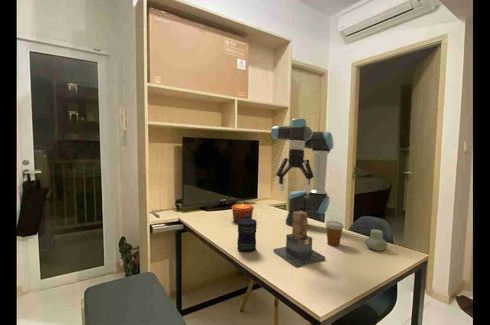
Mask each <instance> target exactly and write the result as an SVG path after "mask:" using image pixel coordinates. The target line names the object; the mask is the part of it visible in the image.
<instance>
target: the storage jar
mask: <svg viewBox="0 0 490 325" xmlns="http://www.w3.org/2000/svg"><path fill="white" fill-rule="evenodd" d="M237 234H238V235H237V243H236V244H237V250H238V252H240V253H245V254H247V253H248V254H249V253H253V252H255V251H256V250H257V248H256V246H257V236H256V235H257V220H256V219H253V218H252V219H248V218H245V219H240V220H238V223H237Z"/></svg>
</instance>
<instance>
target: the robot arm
mask: <svg viewBox="0 0 490 325" xmlns="http://www.w3.org/2000/svg"><path fill="white" fill-rule="evenodd" d="M270 135H271V138H272V139H273V140H281V141H285V142H289V147H288V148H289V151H288V158H287V157H283V158H282V163H281V164H280V166H279V168H278V170H277V172H276V174H275V176H276V177H278V180H279V181H278V184H279V186H280V187H279V190H280V191H281V192H284V191H285V182H286V180H285V176H286V174H287V173H288V172H289V171H290V170H291V169H292V168H295V169H296V168H298V169H300V171H301V172H302V174H303V175H304V177H305V178H304V184H303V190H293V191H291V192H289V195H288V213H287V215H286V219H285V225H287V226H288V227H289V226H290V227H293V212H296V211H303V212H305V213H307V212H312V213H317V214H319V213H320V214H325V213H327V210H328V208H329V206H330V196H329V195H328V192H327V191H326V180H327V179H326V178H327V166H328V165H327V164H328V155H329V154H330V153H331V151H332V150H333V149H334V138H333V135H332V132H329V131H313V130H312V128H310V127H309V126H307V120H306V119H305V118H300V117H299V118H293V119H291V121H290V125H276V126H275V125H274V126H272V127H271V131H270ZM304 149H306V150H307V149H308V150H309V149H310V150H311V151H312V153H313V164H312V165H313V166H312V167H313V168H311V164H310V160H309V159H305V150H304ZM287 163H288V164H287ZM310 182H311V183H310ZM310 184H311V189H310V190H309V186H310ZM307 192H308V193H307ZM308 222H309V221H308V220H307V226H308V225H309V224H308Z"/></svg>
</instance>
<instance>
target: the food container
mask: <svg viewBox="0 0 490 325" xmlns="http://www.w3.org/2000/svg"><path fill="white" fill-rule="evenodd" d="M231 209H232V210H231V211H232V219H233V222H234V223H236V224H238V220H240V219H245V218H248V219H253V214H254V212H253V211H254V209H255V208H254V206H253V205H251V204H248V203H247V204H246V203H239V204H238V203H237V204H233V205H232V206H231Z"/></svg>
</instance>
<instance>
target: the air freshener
mask: <svg viewBox="0 0 490 325" xmlns="http://www.w3.org/2000/svg"><path fill="white" fill-rule="evenodd" d="M383 237H384V232H383V231H382V230H381V229H376V228H372V229H371V230H370V236H368V237H366V238H365V240H364V243H365V245H366V247H367V248H369V249H371V250H373V251H377V252H380V251H384V250H386V249H387V247H388V242H387V241H386V240H385V239H384V238H383Z"/></svg>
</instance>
